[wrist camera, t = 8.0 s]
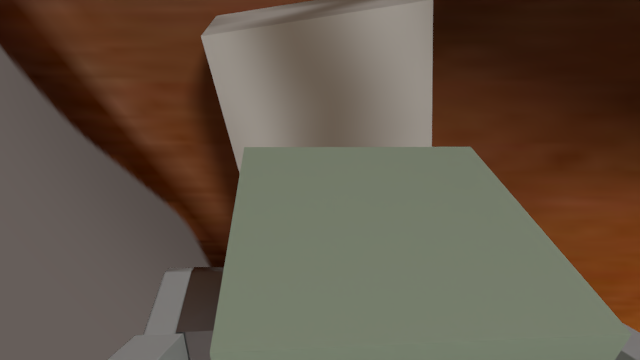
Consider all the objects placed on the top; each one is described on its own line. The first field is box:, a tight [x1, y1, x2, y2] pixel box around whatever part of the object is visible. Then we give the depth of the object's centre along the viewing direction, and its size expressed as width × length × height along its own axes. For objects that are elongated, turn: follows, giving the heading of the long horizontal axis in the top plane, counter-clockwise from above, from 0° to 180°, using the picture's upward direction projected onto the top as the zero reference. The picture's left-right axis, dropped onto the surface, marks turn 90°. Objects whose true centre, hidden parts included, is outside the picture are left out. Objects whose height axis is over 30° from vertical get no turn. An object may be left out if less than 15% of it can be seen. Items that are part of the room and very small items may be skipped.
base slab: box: [201, 0, 433, 173], centre depth 18 cm, size 8×8×4 cm
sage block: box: [210, 147, 631, 360], centre depth 8 cm, size 5×5×5 cm
